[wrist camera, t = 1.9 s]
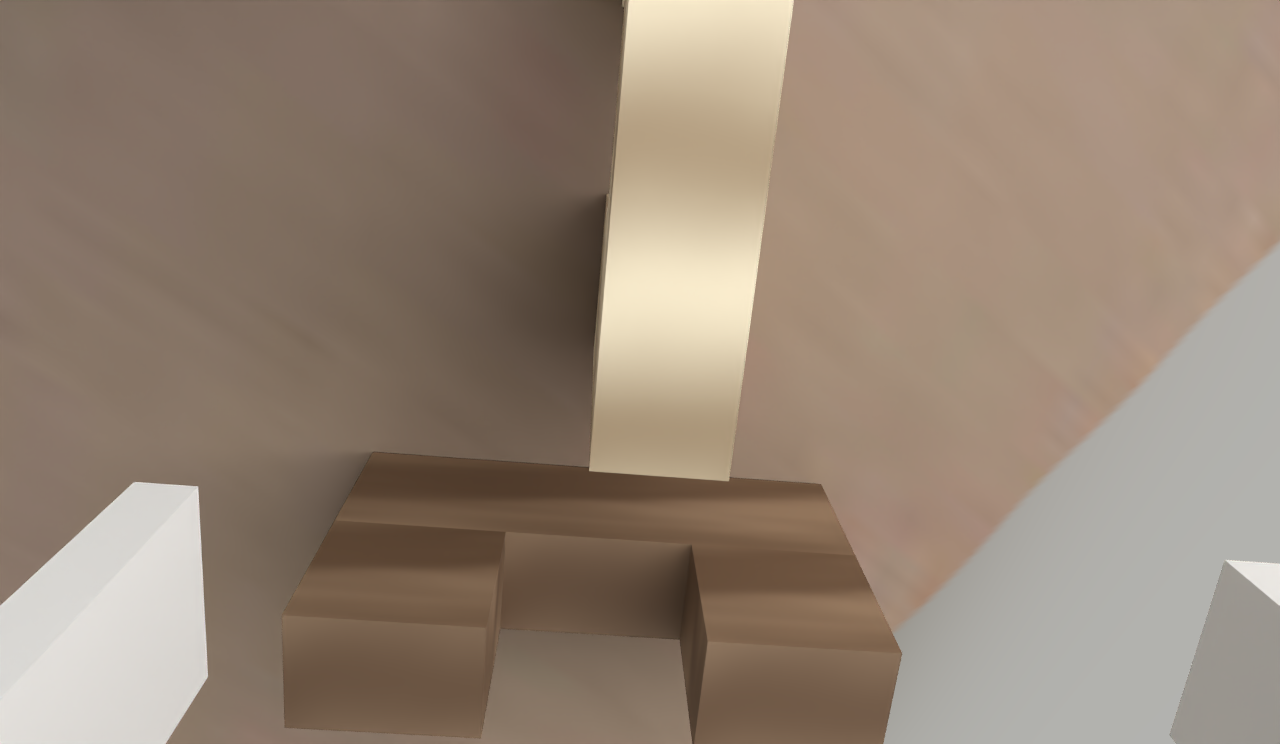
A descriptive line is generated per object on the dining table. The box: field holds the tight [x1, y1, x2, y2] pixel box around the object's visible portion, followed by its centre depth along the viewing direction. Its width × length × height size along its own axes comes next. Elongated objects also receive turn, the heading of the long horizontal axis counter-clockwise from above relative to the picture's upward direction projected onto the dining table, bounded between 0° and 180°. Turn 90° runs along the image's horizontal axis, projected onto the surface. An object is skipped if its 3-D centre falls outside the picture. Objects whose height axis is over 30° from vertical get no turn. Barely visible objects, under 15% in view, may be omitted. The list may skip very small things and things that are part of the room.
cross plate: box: [589, 0, 794, 481], centre depth 23 cm, size 14×3×9 cm, turn 175°
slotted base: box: [282, 452, 902, 744], centre depth 27 cm, size 3×14×9 cm, turn 85°
